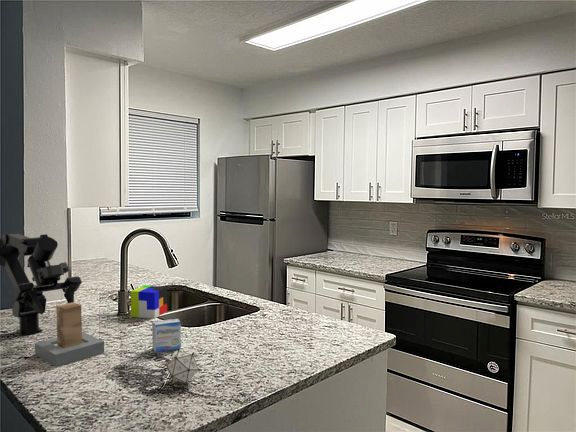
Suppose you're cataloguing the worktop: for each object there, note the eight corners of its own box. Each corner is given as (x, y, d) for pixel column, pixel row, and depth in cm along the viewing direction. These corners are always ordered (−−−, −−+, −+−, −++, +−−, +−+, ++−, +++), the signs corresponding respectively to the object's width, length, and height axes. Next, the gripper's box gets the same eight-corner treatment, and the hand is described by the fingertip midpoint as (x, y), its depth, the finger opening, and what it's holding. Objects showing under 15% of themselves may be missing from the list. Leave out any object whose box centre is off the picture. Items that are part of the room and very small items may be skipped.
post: (57, 345, 132) (56, 305, 131) (74, 340, 135) (73, 302, 135) (65, 349, 128) (64, 308, 128) (82, 344, 132) (81, 305, 132)
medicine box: (155, 353, 133) (154, 325, 133) (152, 348, 137) (151, 321, 137) (181, 349, 137) (181, 321, 136) (177, 344, 141) (177, 317, 140)
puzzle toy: (154, 318, 168) (154, 292, 167) (130, 316, 170) (130, 291, 169) (167, 311, 178) (166, 286, 177) (144, 309, 180) (144, 285, 179)
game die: (177, 394, 115) (168, 357, 119) (208, 382, 115) (198, 345, 120) (164, 391, 107) (156, 351, 111) (198, 378, 107) (188, 339, 112)
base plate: (35, 354, 131) (34, 343, 131) (81, 342, 142) (81, 331, 142) (56, 367, 122) (55, 354, 122) (104, 352, 133) (104, 341, 133)
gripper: (17, 257, 131) (34, 301, 125) (79, 252, 146) (96, 290, 140) (6, 279, 136) (22, 322, 130) (67, 272, 151) (83, 310, 145)
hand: (57, 310), depth 136 cm, fingers open, 9 cm apart
